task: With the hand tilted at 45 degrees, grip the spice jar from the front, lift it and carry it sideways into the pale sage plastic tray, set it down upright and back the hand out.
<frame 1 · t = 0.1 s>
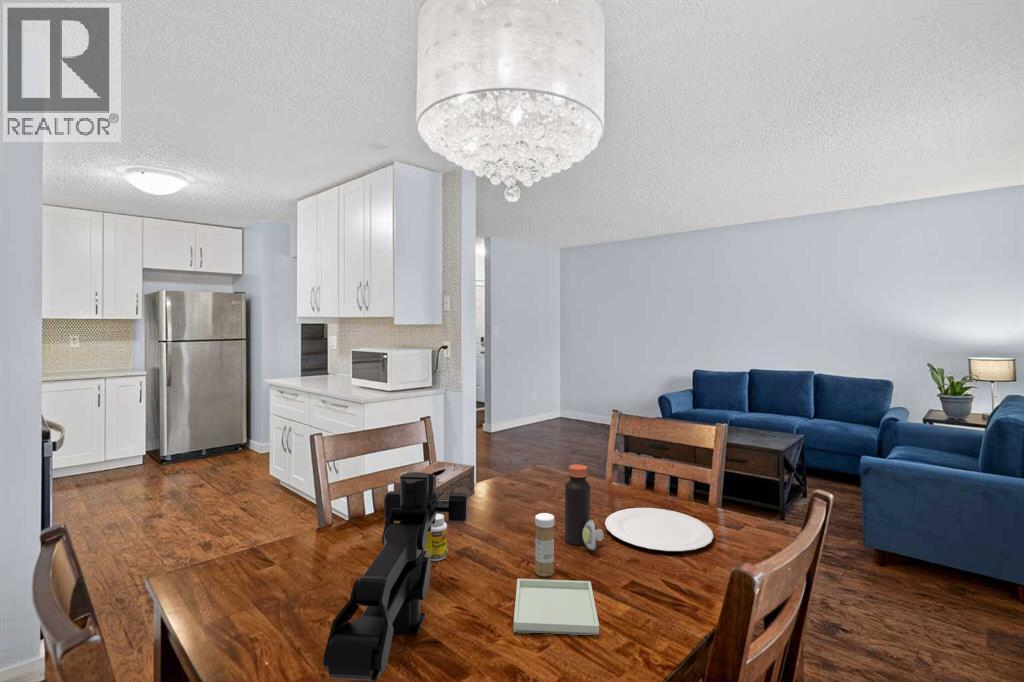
hand: (434, 494, 119), 17 cm above the table, tool horizontal, fingers open, 9 cm apart
supplement bottle: (435, 557, 123), on the table
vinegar: (577, 541, 133), on the table
pacifier: (586, 535, 126), point 4 cm above the table
spice jar: (544, 573, 115), on the table
plate: (657, 533, 138), on the table
tissue box cover: (436, 504, 159), on the table
tray: (554, 609, 100), on the table
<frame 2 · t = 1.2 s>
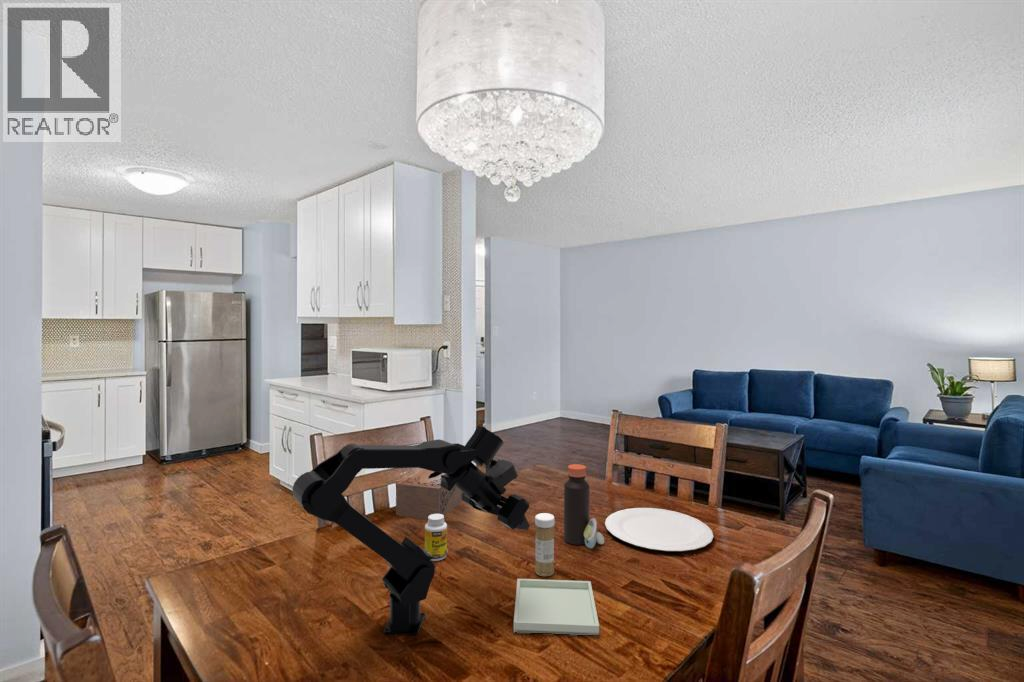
hand: (515, 521, 110), 14 cm above the table, tool tilted 45°, fingers open, 9 cm apart
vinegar: (576, 540, 133), on the table, touching pacifier
pacifier: (587, 529, 128), point 5 cm above the table, touching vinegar
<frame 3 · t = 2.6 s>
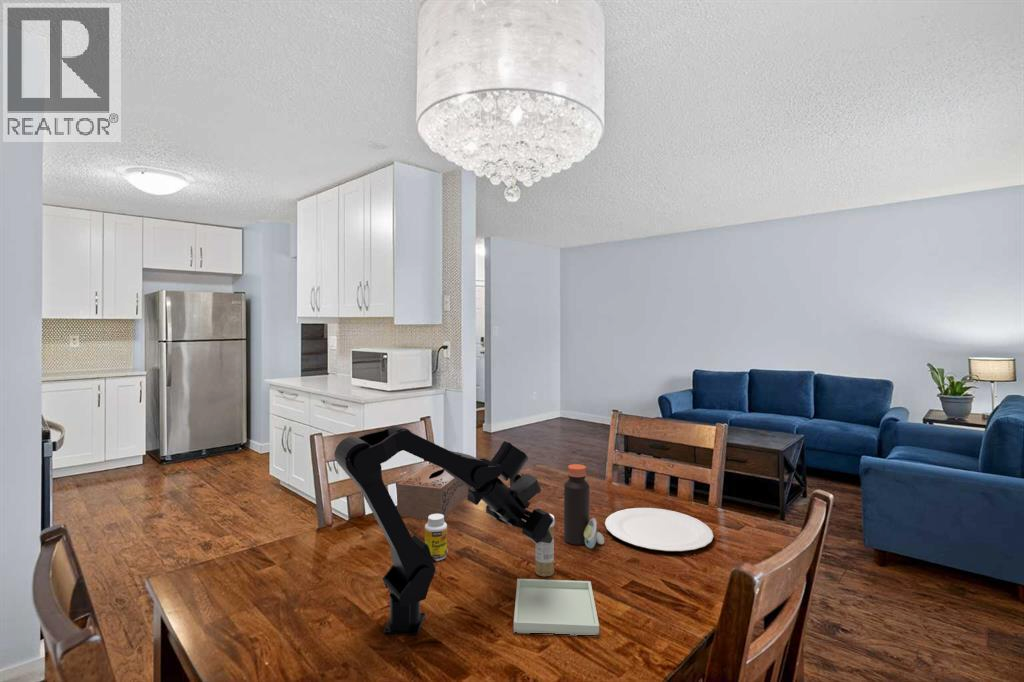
hand: (538, 533, 114), 10 cm above the table, tool tilted 45°, fingers open, 9 cm apart
nothing on the table moved.
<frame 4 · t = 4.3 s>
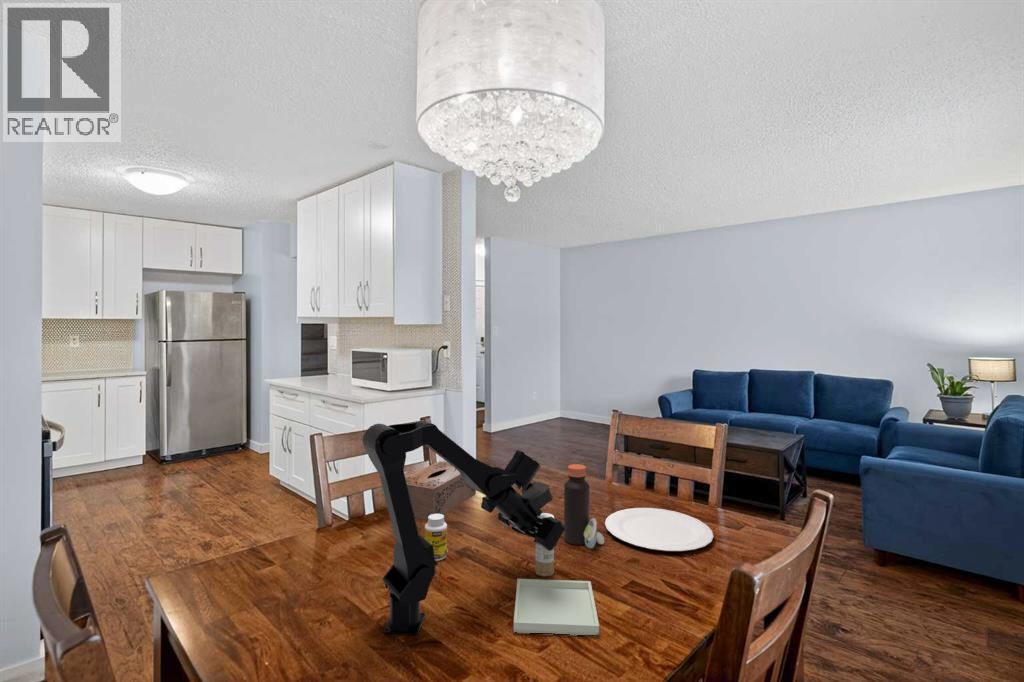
hand: (549, 541, 116), 7 cm above the table, tool tilted 45°, fingers closed on spice jar, 4 cm apart
spice jar: (544, 573, 115), on the table, touching gripper
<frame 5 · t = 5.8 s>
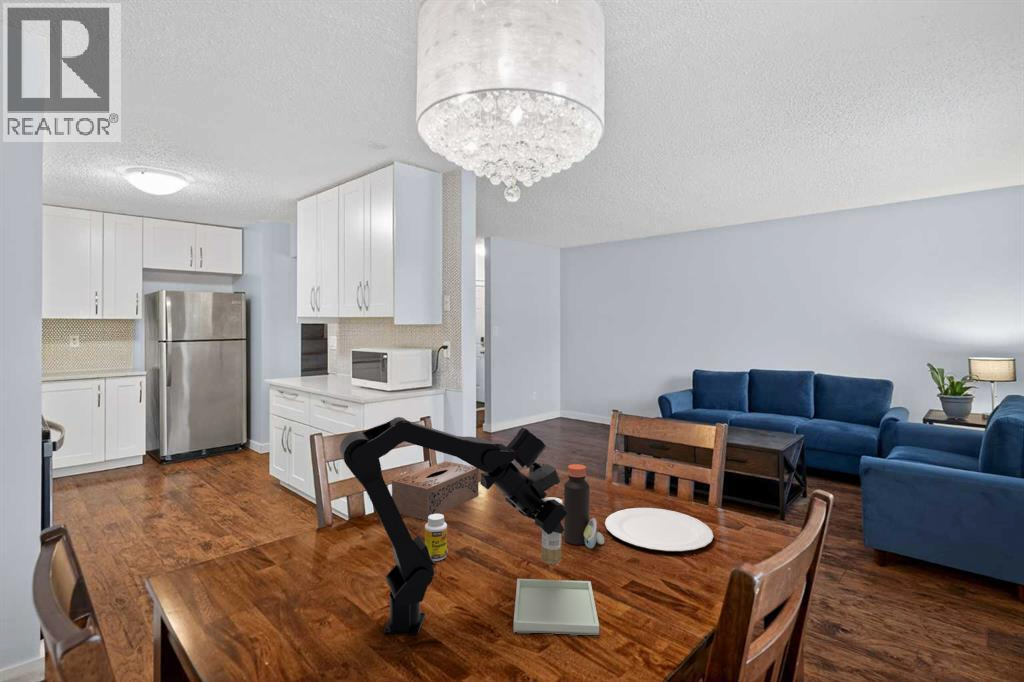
hand: (557, 527, 109), 13 cm above the table, tool tilted 45°, fingers closed on spice jar, 4 cm apart
spice jar: (550, 561, 109), point 6 cm above the table, touching gripper
when the fingers open (9 cm above the table, at t = 7.6 s): spice jar drops 1 cm, resting on tray.
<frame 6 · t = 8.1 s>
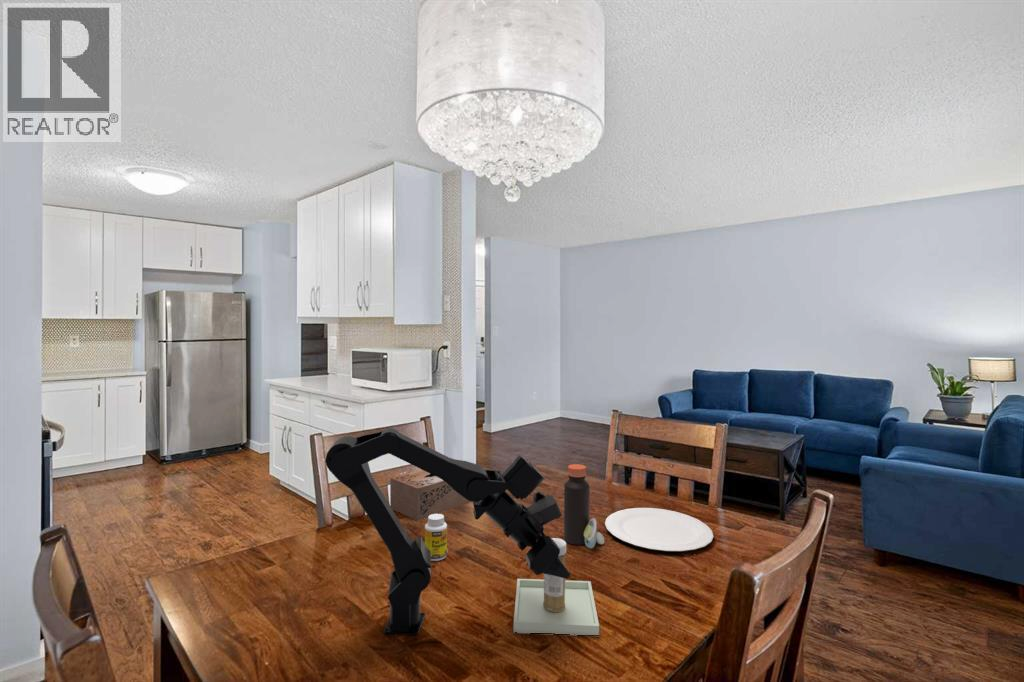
hand: (561, 565, 100), 9 cm above the table, tool tilted 45°, fingers open, 9 cm apart
spice jar: (553, 607, 100), resting on tray
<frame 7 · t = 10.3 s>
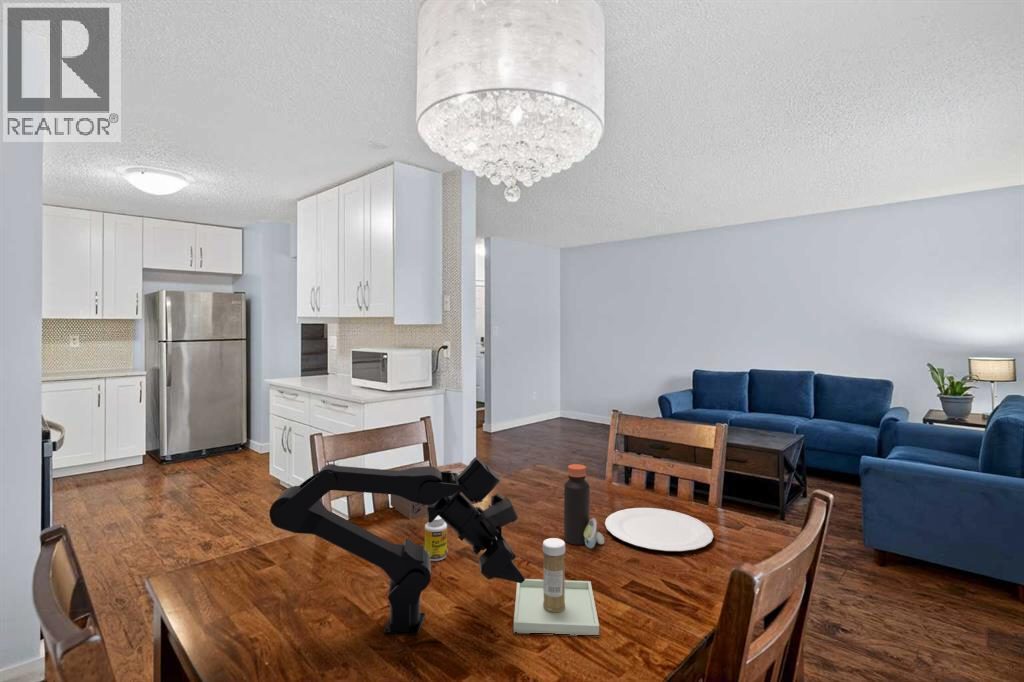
hand: (518, 569, 98), 9 cm above the table, tool tilted 45°, fingers open, 9 cm apart
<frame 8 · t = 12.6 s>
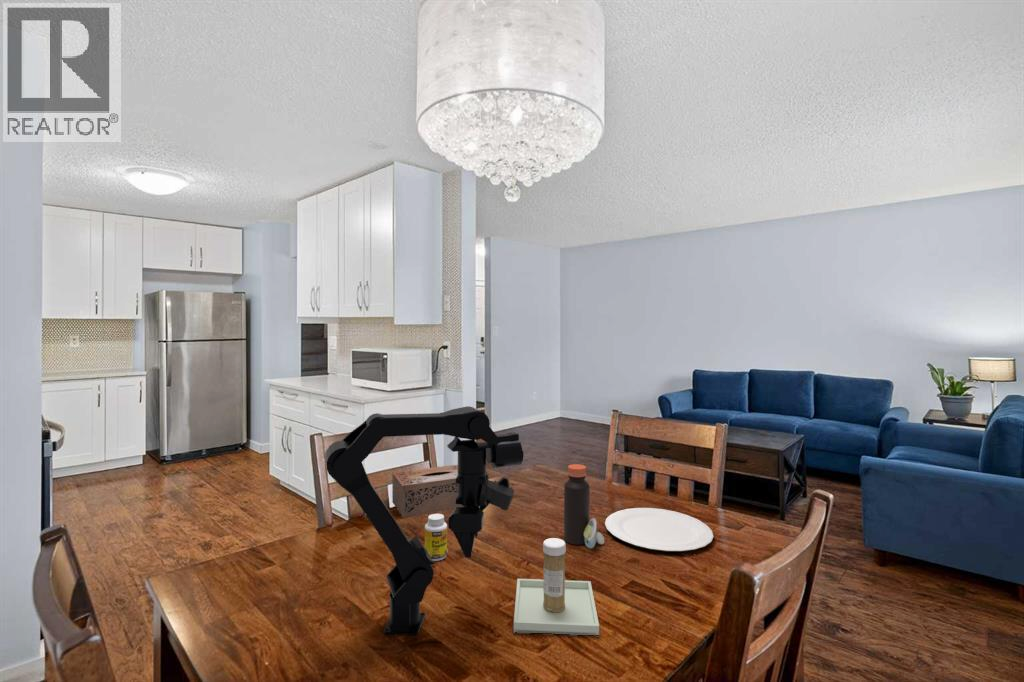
hand: (471, 546, 100), 13 cm above the table, tool pointing down, fingers open, 9 cm apart
at the end: spice jar inside the target area on the tray (0.2 cm from its centre), point 0.4 cm above the tray's base; spice jar tilted 0°; the gripper is holding nothing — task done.
